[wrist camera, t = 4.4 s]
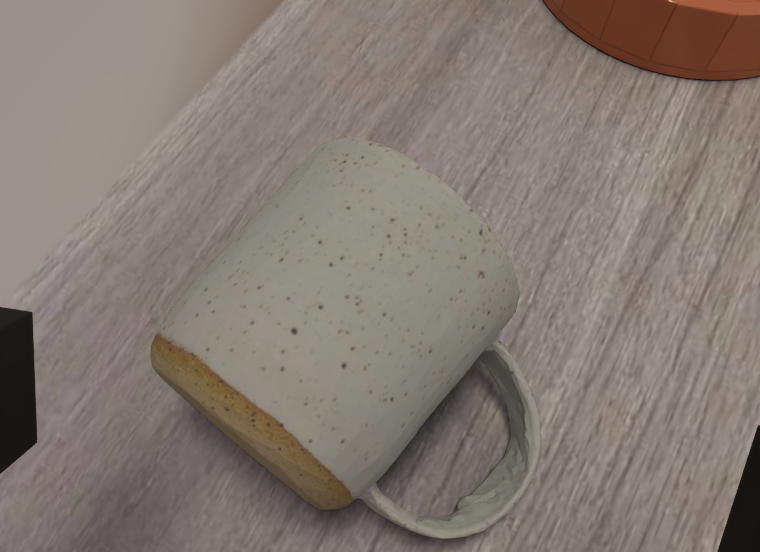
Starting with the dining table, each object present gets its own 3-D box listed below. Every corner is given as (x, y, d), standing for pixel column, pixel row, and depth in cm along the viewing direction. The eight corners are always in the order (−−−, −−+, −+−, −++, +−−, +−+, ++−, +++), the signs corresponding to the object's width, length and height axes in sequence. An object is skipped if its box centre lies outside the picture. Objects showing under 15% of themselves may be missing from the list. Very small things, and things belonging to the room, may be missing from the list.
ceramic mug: (169, 403, 21) (79, 302, 15) (326, 231, 25) (312, 82, 18) (439, 620, 19) (482, 621, 12) (577, 396, 22) (673, 294, 15)
